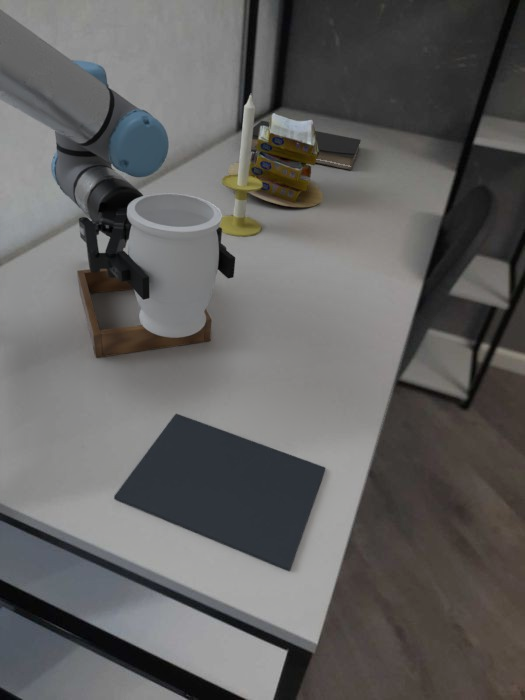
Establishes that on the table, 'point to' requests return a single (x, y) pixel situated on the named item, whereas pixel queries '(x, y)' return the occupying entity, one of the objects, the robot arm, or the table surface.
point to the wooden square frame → (126, 336)
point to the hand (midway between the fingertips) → (191, 277)
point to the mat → (226, 489)
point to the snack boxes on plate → (285, 162)
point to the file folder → (326, 147)
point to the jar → (174, 259)
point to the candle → (242, 182)
